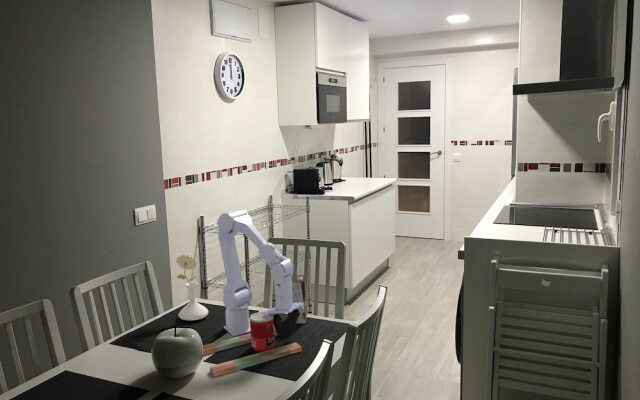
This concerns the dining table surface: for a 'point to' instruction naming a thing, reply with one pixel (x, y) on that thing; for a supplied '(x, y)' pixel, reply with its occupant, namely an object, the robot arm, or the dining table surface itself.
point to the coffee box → (300, 295)
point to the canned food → (262, 332)
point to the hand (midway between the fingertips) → (285, 332)
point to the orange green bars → (247, 360)
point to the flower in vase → (190, 292)
